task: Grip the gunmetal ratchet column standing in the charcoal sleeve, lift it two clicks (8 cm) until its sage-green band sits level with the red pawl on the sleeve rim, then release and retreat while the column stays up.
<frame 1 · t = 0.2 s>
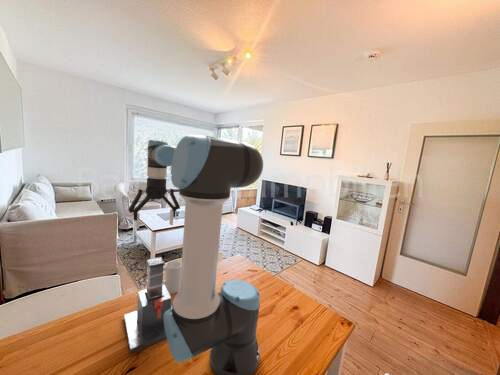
hand: (155, 226, 91), 28 cm above the table, fingers open, 13 cm apart
sleeve: (153, 324, 73), on the table
mug: (168, 290, 93), on the table
column: (154, 291, 71), point 13 cm above the table, slide at 0.0 cm
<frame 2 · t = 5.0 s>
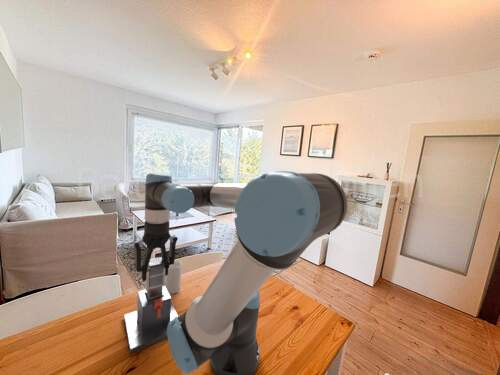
hand: (154, 286, 71), 15 cm above the table, fingers closed on column, 4 cm apart
column: (154, 291, 71), point 13 cm above the table, slide at 0.0 cm, touching gripper
everything else where it was.
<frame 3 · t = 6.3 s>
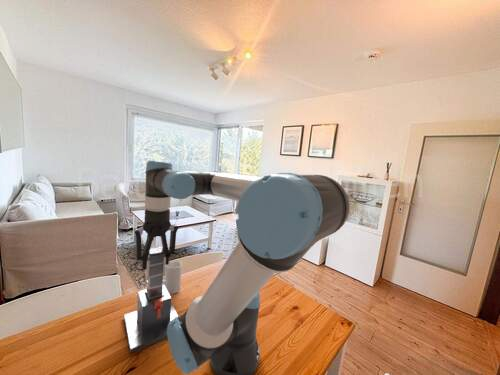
hand: (155, 275, 71), 19 cm above the table, fingers closed on column, 4 cm apart
column: (154, 280, 71), point 17 cm above the table, slide at 4.0 cm, touching gripper
everything else where it was.
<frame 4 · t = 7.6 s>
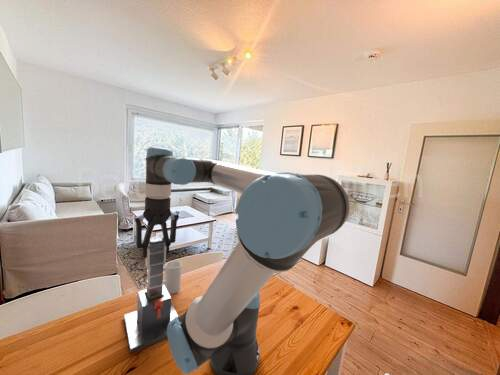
hand: (155, 264, 70), 23 cm above the table, fingers closed on column, 4 cm apart
column: (155, 269, 70), point 21 cm above the table, slide at 8.0 cm, touching gripper
everything else where it was.
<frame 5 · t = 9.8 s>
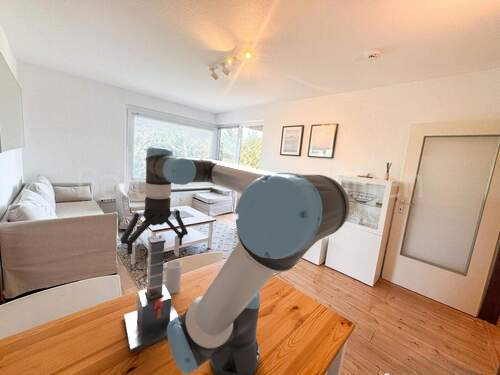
hand: (155, 258, 70), 25 cm above the table, fingers open, 13 cm apart
column: (155, 269, 70), point 21 cm above the table, slide at 8.0 cm
everything else where it was.
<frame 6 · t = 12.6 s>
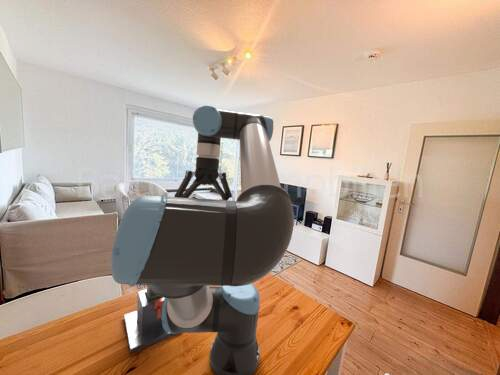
hand: (203, 218, 73), 39 cm above the table, fingers open, 13 cm apart
nothing on the table moved.
at the end: column slide at 8.0 cm; the gripper is holding nothing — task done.
